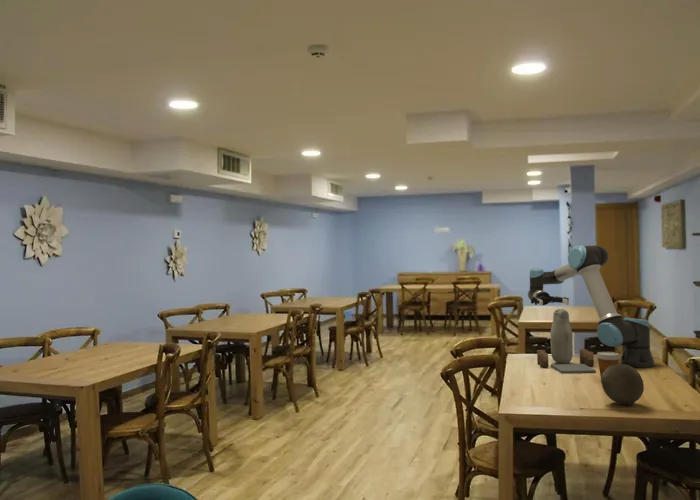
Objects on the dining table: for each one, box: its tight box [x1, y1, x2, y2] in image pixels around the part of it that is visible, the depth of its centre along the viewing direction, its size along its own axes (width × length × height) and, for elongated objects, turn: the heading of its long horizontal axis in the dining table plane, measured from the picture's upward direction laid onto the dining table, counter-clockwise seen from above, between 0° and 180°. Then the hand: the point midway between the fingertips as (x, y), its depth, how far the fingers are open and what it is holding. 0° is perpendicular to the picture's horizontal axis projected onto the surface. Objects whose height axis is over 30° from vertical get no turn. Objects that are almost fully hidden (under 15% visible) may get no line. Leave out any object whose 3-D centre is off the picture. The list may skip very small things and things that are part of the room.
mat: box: [550, 363, 597, 375], centre depth 278 cm, size 16×16×1 cm
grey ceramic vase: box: [550, 308, 573, 364], centre depth 293 cm, size 10×10×28 cm
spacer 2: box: [539, 352, 550, 369], centre depth 285 cm, size 4×4×7 cm
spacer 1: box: [536, 349, 546, 366], centre depth 293 cm, size 4×4×7 cm
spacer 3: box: [579, 348, 589, 365], centre depth 293 cm, size 4×4×7 cm
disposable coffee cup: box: [596, 351, 621, 379], centre depth 253 cm, size 10×10×12 cm
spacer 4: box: [584, 350, 595, 368], centre depth 286 cm, size 4×4×7 cm
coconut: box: [600, 363, 645, 406], centre depth 214 cm, size 14×14×15 cm
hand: (554, 302), depth 303 cm, fingers open, 13 cm apart
